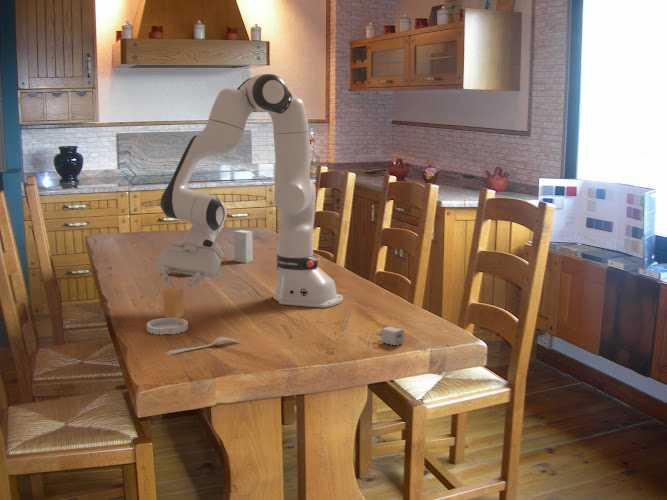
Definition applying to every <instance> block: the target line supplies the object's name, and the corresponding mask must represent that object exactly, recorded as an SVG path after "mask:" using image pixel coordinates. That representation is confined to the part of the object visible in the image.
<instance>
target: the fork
mask: <svg viewBox="0 0 667 500" xmlns="http://www.w3.org/2000/svg"><path fill="white" fill-rule="evenodd" d="M224 341H230V342H235V343H238V344H241V342H240V341H239V340H238V339H233V338H229V337H226V336H225V337H224V336H221V337H220V336H219V337H217V338H215V339H213V342H212V343H209V344H206V345H200V346H195V347H186V348H178V349H172V350H169V351H166V352H167V353H168V354H169V355H168V356H171V355H170V354H173V355H176V354H180V353H185V352H188V351H193V350H199V349H203V348H208V347H211V346H213V345H215V344H218V343H221V342H224Z"/></svg>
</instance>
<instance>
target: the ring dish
mask: <svg viewBox="0 0 667 500" xmlns="http://www.w3.org/2000/svg"><path fill="white" fill-rule="evenodd" d="M188 328H189V322H188V320H186V319H184V318H182V317H179V318H167V317H161V318H154V319H152V320H149V321H147V323H146V331H147V332H148V333H150V334H152V333H153V334H152V335H158V334H160V336H163V335H164V334H170V335H171V334H172V335H177V334H181V333H180V332H182V333H184V332H186V331H188ZM176 333H177V334H176ZM162 334H163V335H162ZM164 336H165V335H164Z"/></svg>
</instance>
